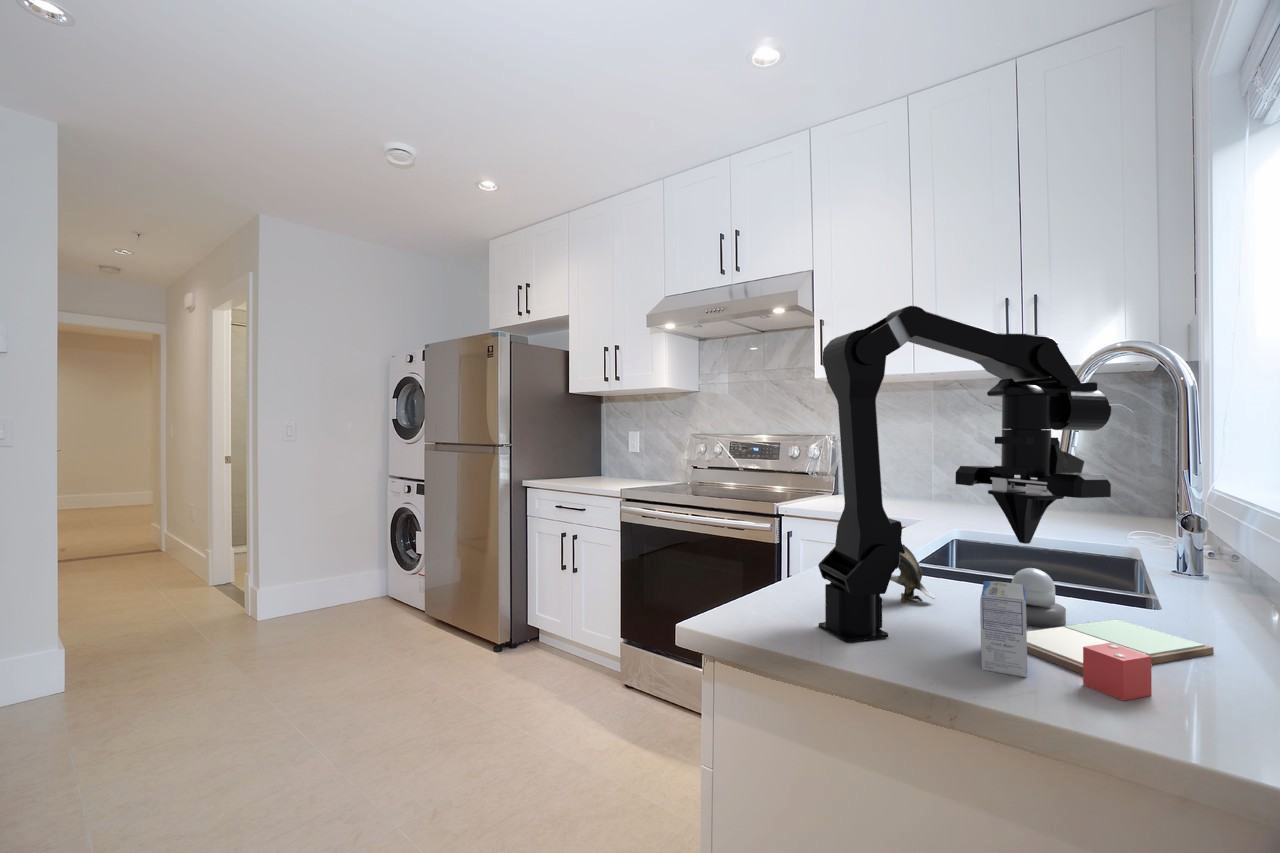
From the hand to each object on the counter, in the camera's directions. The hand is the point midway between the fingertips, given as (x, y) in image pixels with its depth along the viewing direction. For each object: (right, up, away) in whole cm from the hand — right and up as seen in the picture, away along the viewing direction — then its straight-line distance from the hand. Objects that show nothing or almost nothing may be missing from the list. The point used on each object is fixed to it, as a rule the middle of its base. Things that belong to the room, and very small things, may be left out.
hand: (1024, 543), depth 81 cm
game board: (+5, -12, -8) cm, 15 cm away
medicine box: (-10, -12, -12) cm, 20 cm away
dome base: (+4, -12, +4) cm, 13 cm away
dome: (+4, -10, +4) cm, 11 cm away
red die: (-3, -12, -19) cm, 23 cm away
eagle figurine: (-11, -12, +12) cm, 20 cm away
